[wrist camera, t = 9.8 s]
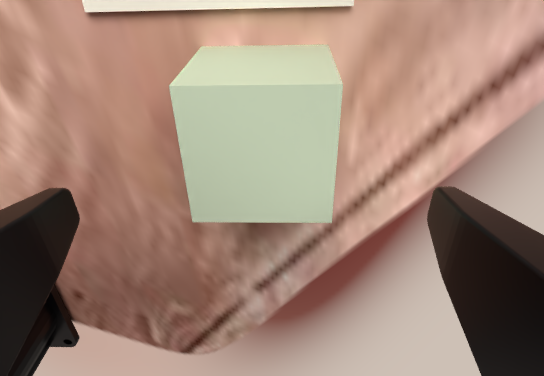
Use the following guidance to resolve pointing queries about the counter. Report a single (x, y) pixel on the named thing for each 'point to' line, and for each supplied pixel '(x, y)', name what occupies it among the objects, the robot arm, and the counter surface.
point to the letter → (203, 4)
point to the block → (259, 132)
